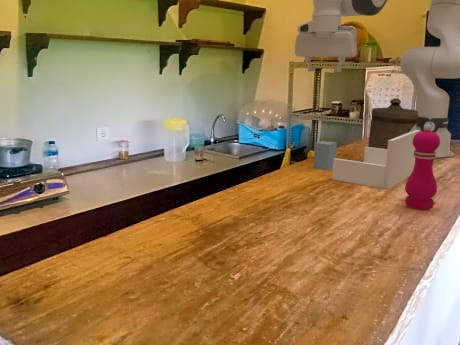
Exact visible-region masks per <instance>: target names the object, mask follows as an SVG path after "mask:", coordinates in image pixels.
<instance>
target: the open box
mask: <svg viewBox="0 0 460 345" xmlns="http://www.w3.org/2000/svg"><path fill="white" fill-rule="evenodd" d="M418 132H420V130H415V131H412V132H409V133H407V134H404V135H401V136H399V137H396V138H393V139H391V140H388V148H387V149H380V148H373V147H368V146H365V147H364V153H363V161H358V160H350V159H345V158H344V159H343V158H334V159H333V168H332V172H331V173H332V175H331V180H333V181H340V182H344V183H349V184H356V185H362V186H367V187H372V188H379V189H384V190H389V189H391V188H393V187H395V186H396V185H398V184H400V183H401V182H403V181H404V180H407V179H408V178H409V176H410V175H411V173H412V171H413V169H414V165H415V157H414V156H413V155H414V150H416V149H415V147H414V146H413V138H414V136H415V134H417V133H418Z"/></svg>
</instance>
